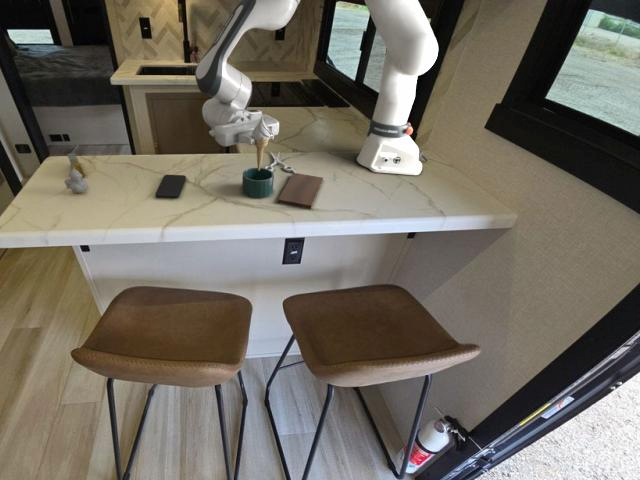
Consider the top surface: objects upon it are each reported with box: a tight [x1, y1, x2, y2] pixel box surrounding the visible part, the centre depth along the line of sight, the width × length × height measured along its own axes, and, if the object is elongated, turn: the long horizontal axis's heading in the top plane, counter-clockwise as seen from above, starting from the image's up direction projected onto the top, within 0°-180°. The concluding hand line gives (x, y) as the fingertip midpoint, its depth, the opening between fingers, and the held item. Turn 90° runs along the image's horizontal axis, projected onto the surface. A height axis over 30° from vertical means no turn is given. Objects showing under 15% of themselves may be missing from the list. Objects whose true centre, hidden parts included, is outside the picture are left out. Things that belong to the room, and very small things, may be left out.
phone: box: [154, 174, 187, 199], centre depth 107 cm, size 7×1×15 cm
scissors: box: [264, 150, 297, 174], centre depth 122 cm, size 11×1×20 cm
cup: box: [241, 167, 275, 199], centre depth 104 cm, size 10×10×6 cm
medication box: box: [67, 152, 86, 177], centre depth 113 cm, size 12×3×4 cm, turn 28°
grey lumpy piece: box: [63, 166, 89, 194], centre depth 101 cm, size 5×7×8 cm
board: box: [277, 172, 324, 210], centre depth 106 cm, size 10×20×1 cm, turn 160°
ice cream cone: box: [251, 117, 271, 171], centre depth 97 cm, size 6×6×15 cm
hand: (262, 139), depth 95 cm, fingers closed on ice cream cone, 5 cm apart
